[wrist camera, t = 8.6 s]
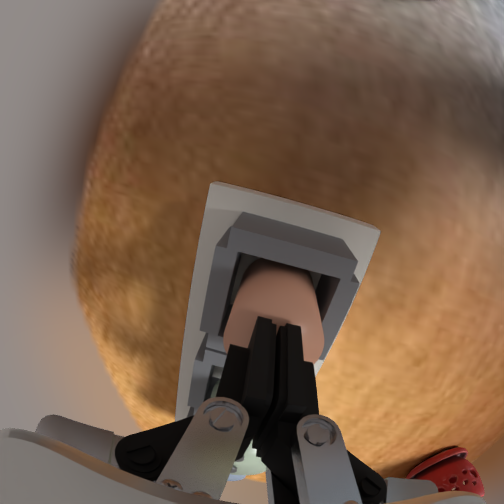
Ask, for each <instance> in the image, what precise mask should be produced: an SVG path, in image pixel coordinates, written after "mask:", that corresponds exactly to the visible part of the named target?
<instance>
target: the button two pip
mask: <svg viewBox="0 0 504 504" xmlns="http://www.w3.org/2000/svg"><path fill="white" fill-rule="evenodd" d="M219 382H220V380H218V381H217V382H216V383H215V385H214V387H213V390H212V394H211V397H210V398H214V397H216V393H217V390H218V386H219ZM252 441H253V439H252ZM252 441H251V443H250V445H249V447H248V448H247V450H246V452H245V454H244V455H243V457H242V458H241V459H239V460H237V461H235V462H234V464H233V467H232V470H231V472H230V474H232V475H254V474H259V473H262V472H265V471H266V466H265V465H264V463H263V462H262V461H261V458H260V457H256V451H257V449H253V448H252Z"/></svg>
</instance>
